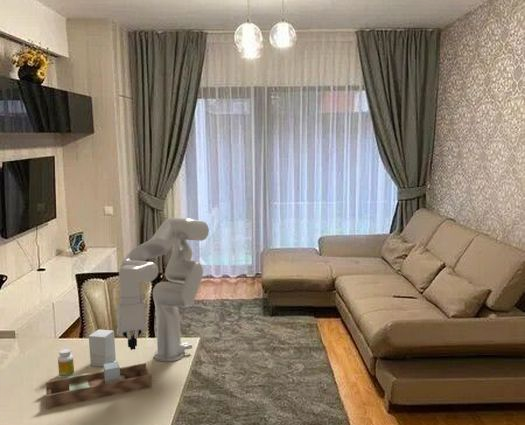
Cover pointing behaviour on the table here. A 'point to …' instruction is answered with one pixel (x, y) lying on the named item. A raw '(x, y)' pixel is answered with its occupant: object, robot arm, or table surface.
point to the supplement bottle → (65, 363)
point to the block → (111, 372)
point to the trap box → (95, 386)
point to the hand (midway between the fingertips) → (132, 348)
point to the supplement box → (102, 347)
